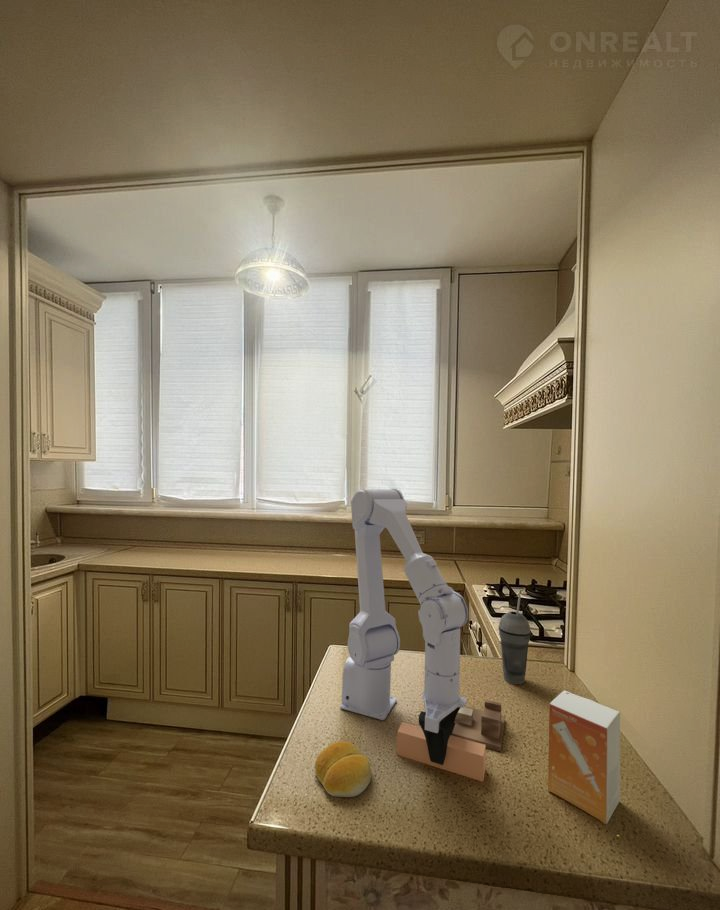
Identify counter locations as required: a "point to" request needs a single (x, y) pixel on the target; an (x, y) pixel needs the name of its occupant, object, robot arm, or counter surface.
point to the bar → (459, 753)
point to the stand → (481, 725)
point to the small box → (584, 754)
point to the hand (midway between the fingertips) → (440, 752)
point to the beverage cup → (514, 645)
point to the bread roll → (343, 770)
